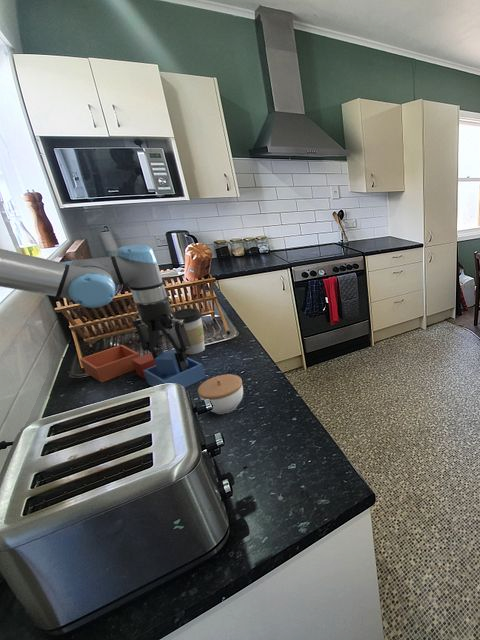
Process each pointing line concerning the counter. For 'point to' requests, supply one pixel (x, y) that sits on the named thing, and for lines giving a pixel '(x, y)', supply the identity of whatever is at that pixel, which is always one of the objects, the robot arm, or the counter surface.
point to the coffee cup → (192, 328)
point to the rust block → (143, 364)
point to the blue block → (167, 363)
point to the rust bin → (109, 363)
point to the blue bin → (184, 378)
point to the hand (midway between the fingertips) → (174, 369)
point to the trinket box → (222, 392)
